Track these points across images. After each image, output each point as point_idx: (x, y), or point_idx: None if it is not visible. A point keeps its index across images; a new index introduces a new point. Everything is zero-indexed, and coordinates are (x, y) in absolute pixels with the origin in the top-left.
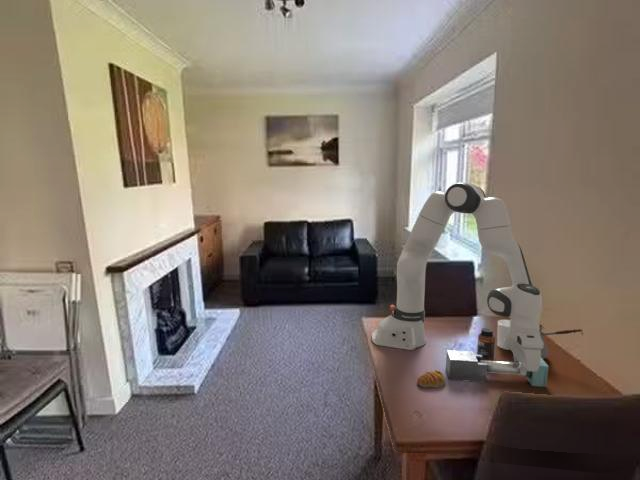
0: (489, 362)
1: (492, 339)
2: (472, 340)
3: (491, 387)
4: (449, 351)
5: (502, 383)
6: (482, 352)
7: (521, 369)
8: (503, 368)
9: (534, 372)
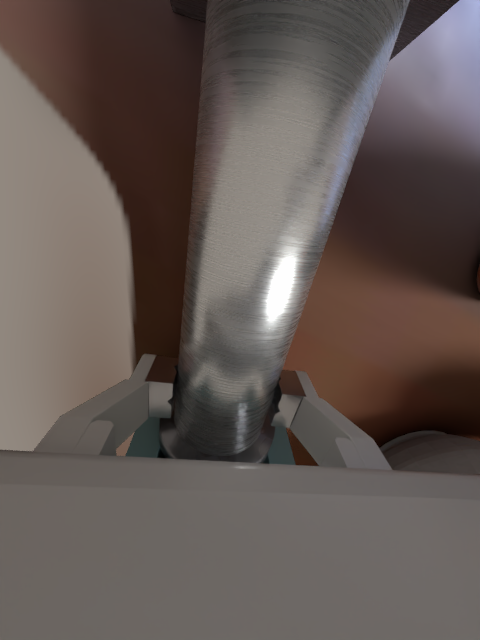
0: None
1: None
2: None
3: (80, 33)
4: None
5: (170, 200)
6: None
7: (109, 388)
8: (191, 227)
9: (131, 447)
